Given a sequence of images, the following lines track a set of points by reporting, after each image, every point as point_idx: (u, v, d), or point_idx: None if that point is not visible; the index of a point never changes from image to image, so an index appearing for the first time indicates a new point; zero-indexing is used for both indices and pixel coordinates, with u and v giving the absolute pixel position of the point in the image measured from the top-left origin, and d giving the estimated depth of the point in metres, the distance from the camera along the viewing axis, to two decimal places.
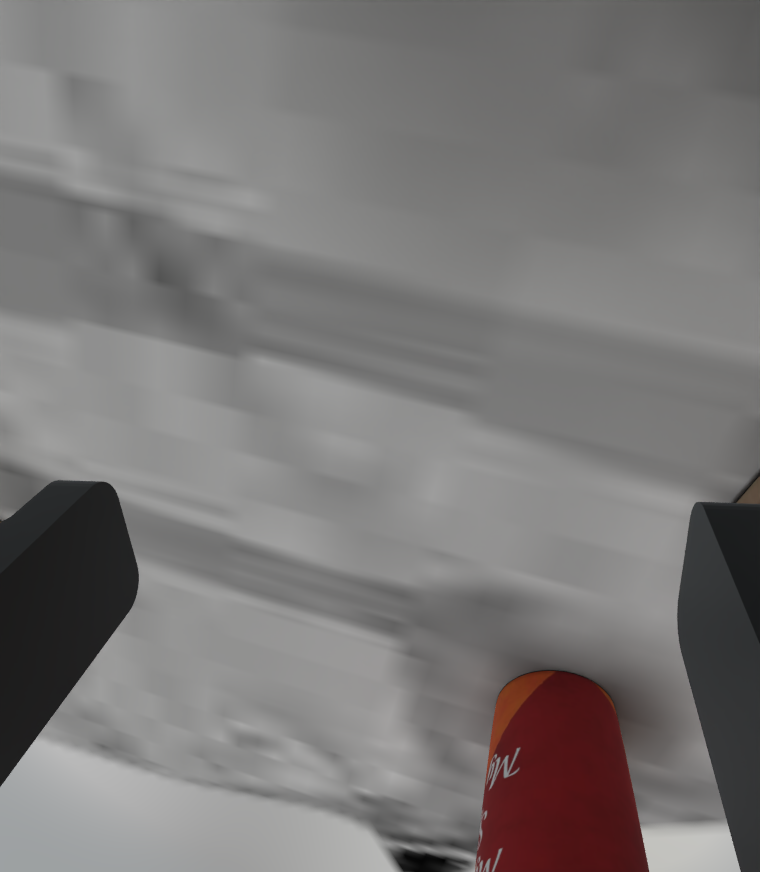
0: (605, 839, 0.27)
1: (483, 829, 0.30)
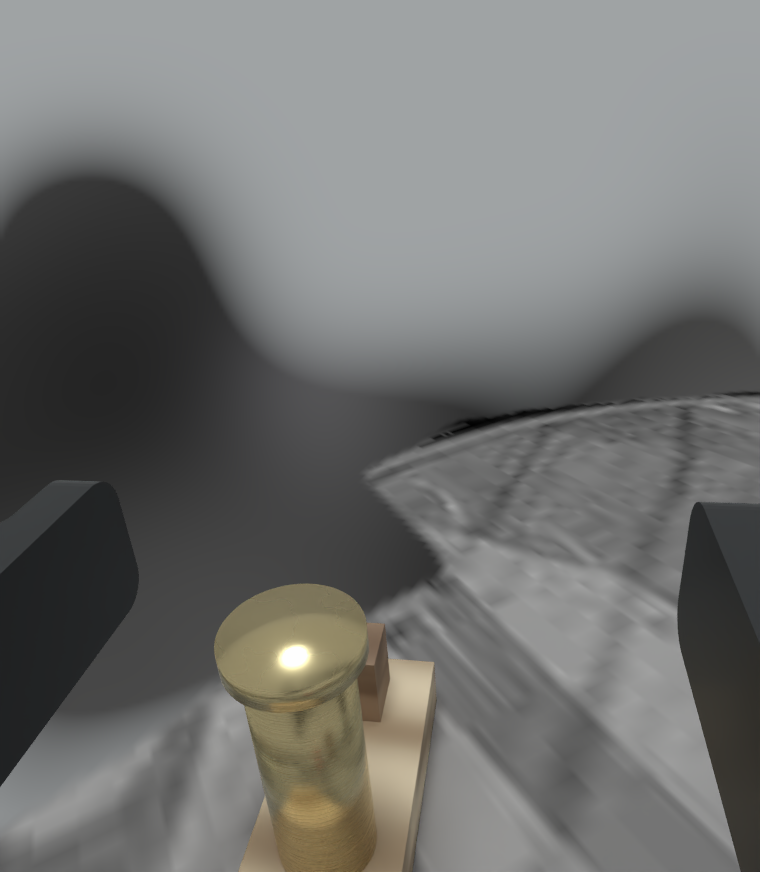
0: None
1: None
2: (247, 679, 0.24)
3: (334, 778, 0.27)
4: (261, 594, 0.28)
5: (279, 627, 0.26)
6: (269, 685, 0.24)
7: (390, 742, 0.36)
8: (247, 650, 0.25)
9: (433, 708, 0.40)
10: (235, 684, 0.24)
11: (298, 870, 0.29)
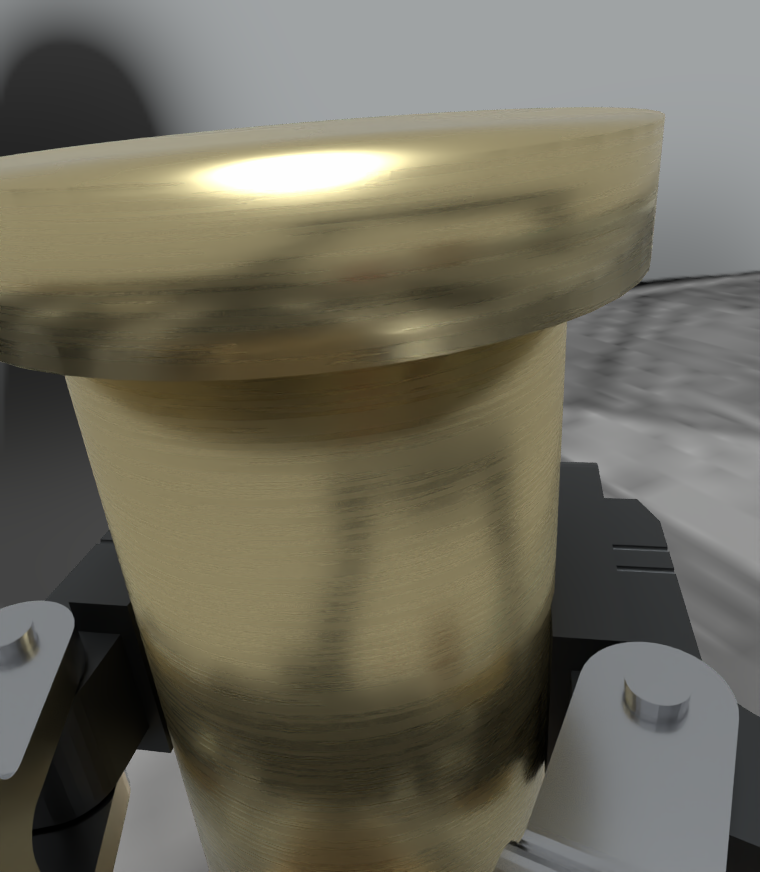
0: None
1: None
2: (29, 180, 0.04)
3: (469, 794, 0.07)
4: (190, 133, 0.08)
5: (247, 139, 0.06)
6: (154, 176, 0.04)
7: None
8: (80, 159, 0.05)
9: None
10: None
11: None
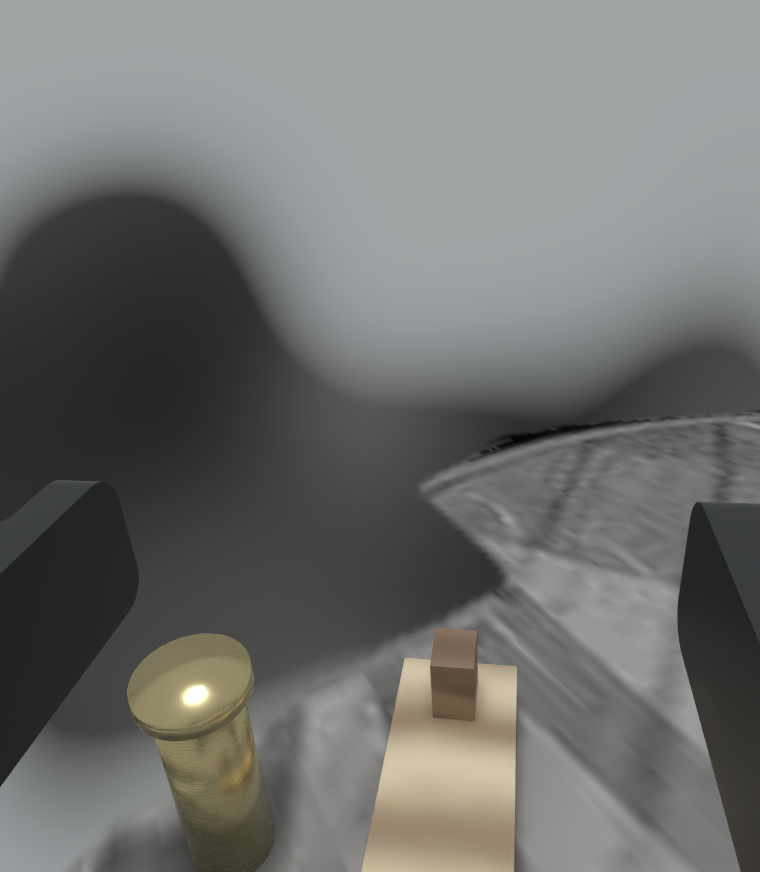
0: None
1: None
2: (149, 714, 0.31)
3: (225, 792, 0.33)
4: (172, 642, 0.35)
5: (181, 671, 0.33)
6: (165, 719, 0.30)
7: (486, 739, 0.39)
8: (152, 690, 0.32)
9: None
10: (140, 718, 0.31)
11: (203, 866, 0.36)
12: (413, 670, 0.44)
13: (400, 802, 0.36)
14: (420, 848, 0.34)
